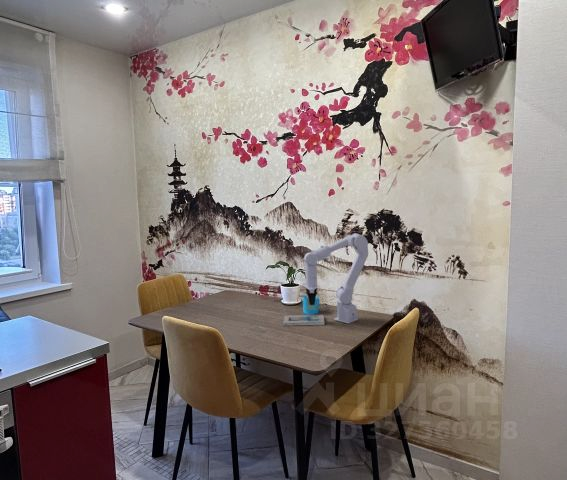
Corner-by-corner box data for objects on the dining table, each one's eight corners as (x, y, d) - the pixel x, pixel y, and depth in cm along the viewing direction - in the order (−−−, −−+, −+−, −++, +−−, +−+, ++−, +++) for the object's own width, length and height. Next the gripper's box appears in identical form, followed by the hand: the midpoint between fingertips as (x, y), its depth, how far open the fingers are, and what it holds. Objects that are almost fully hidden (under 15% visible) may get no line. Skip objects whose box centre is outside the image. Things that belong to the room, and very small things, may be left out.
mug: (312, 315, 211) (312, 300, 210) (300, 312, 216) (299, 297, 215) (325, 309, 220) (324, 295, 219) (313, 307, 225) (312, 293, 224)
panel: (323, 317, 205) (323, 315, 205) (324, 325, 195) (324, 322, 194) (284, 318, 206) (284, 315, 206) (283, 325, 196) (283, 322, 195)
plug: (315, 307, 201) (314, 294, 200) (315, 309, 197) (314, 296, 197) (307, 307, 202) (306, 294, 201) (307, 309, 198) (306, 296, 197)
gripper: (303, 274, 205) (304, 299, 207) (303, 280, 190) (304, 308, 192) (316, 273, 204) (317, 299, 206) (317, 280, 190) (318, 307, 192)
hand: (312, 303), depth 199 cm, fingers closed on plug, 4 cm apart
